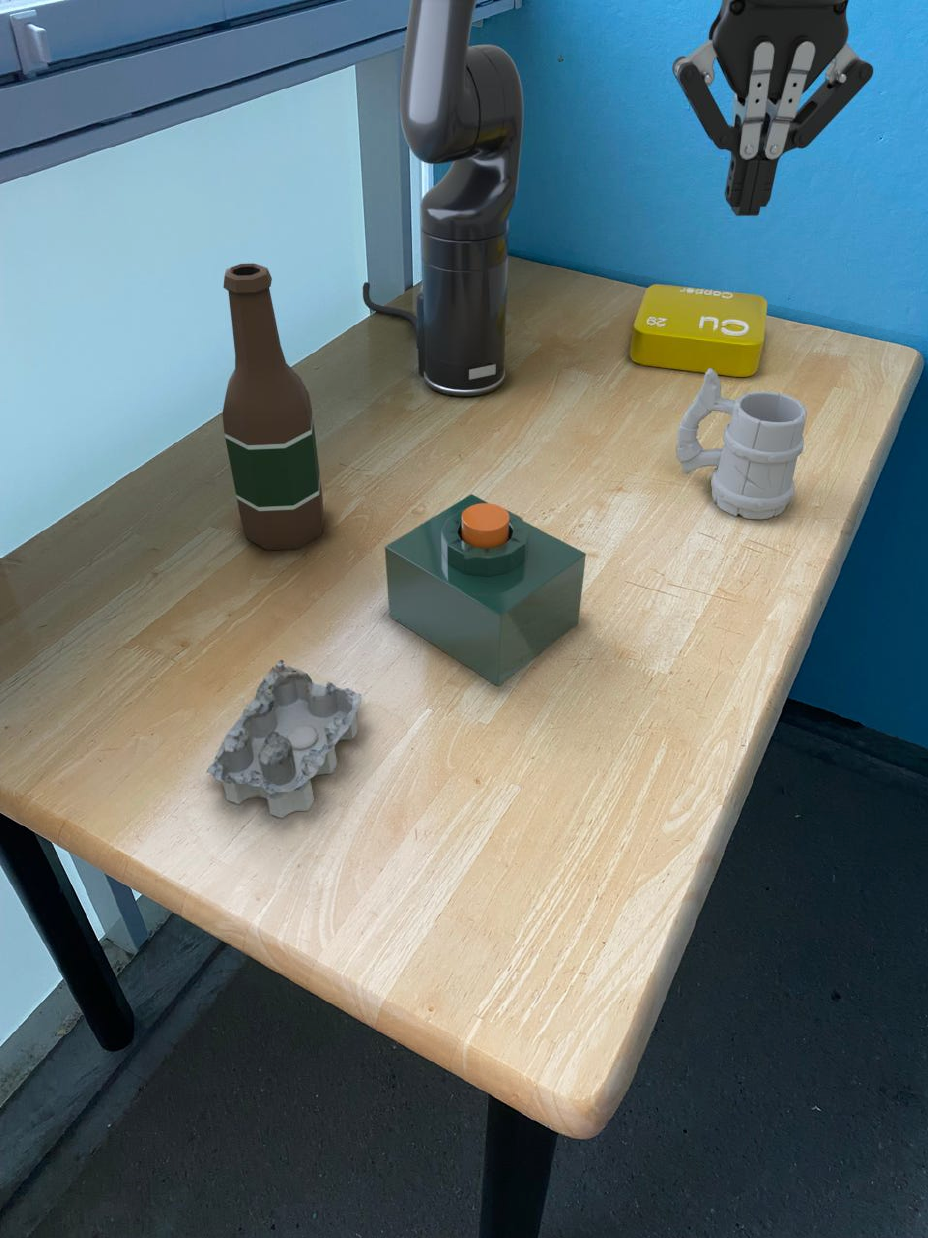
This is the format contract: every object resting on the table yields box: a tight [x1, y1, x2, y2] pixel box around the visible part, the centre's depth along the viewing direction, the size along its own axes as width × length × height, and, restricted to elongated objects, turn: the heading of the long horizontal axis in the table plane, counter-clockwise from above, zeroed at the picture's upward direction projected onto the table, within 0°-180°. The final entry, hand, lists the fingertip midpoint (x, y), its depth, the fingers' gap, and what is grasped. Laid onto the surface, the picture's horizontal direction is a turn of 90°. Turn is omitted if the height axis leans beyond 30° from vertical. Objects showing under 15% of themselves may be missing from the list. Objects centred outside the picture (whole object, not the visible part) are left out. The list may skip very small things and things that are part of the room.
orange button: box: [462, 502, 510, 548], centre depth 70 cm, size 4×4×2 cm
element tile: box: [629, 283, 768, 378], centre depth 113 cm, size 15×15×5 cm
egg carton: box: [205, 659, 362, 819], centre depth 64 cm, size 11×8×4 cm
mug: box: [675, 368, 808, 520], centre depth 87 cm, size 8×12×12 cm, turn 62°
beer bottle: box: [221, 263, 324, 551], centre depth 78 cm, size 8×8×24 cm
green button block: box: [384, 493, 587, 687], centre depth 74 cm, size 12×10×9 cm
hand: (743, 211), depth 65 cm, fingers closed
